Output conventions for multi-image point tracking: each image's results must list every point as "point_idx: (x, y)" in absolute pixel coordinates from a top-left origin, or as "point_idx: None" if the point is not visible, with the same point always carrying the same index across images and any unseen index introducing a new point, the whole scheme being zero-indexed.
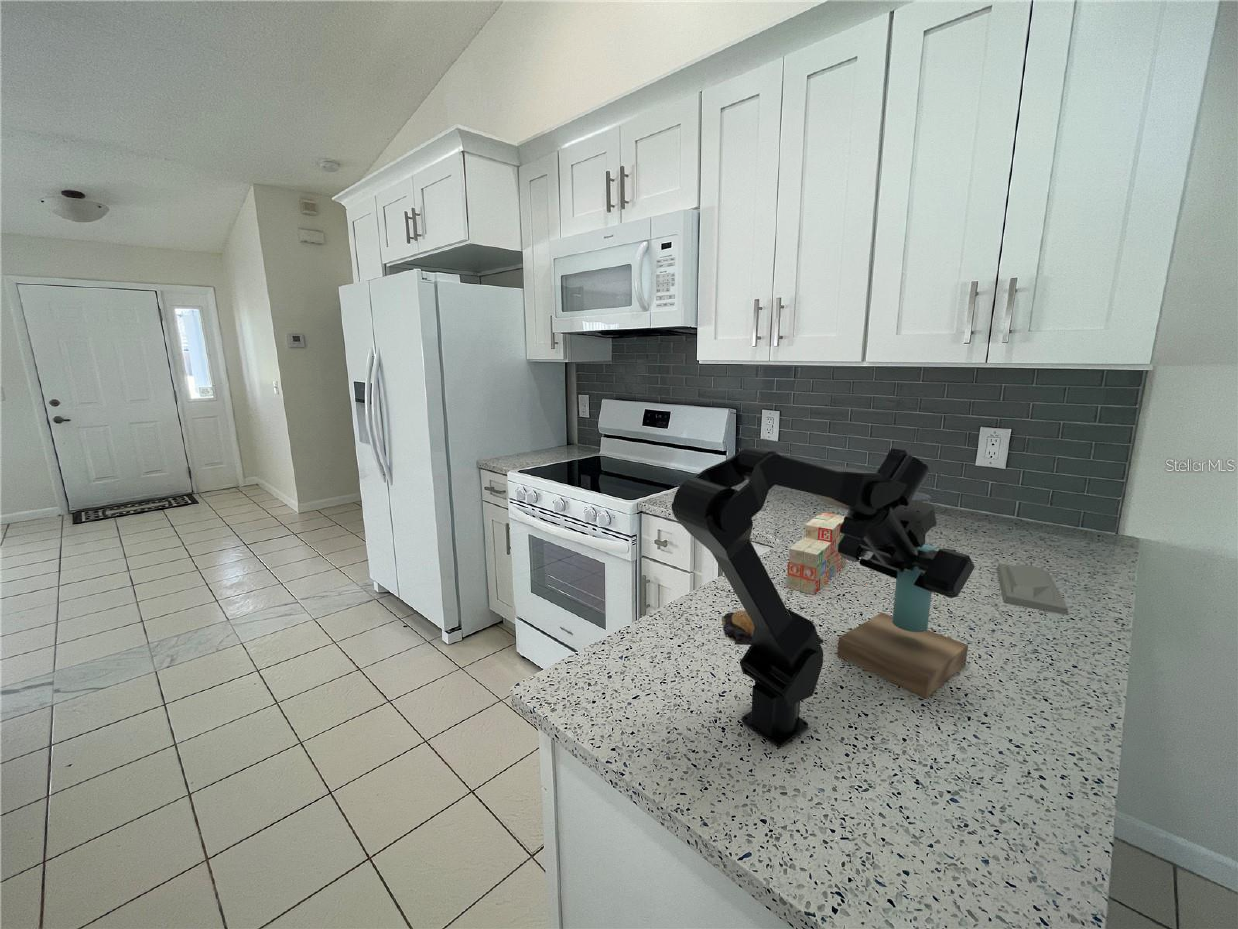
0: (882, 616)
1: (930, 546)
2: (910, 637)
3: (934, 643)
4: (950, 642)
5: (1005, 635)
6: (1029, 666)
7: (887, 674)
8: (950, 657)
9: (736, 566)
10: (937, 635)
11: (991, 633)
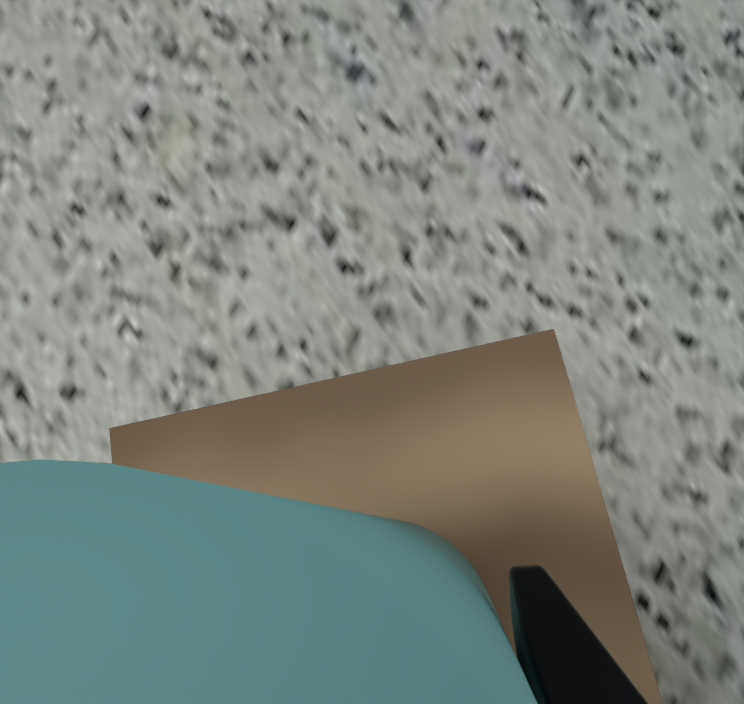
0: (138, 467)
1: (150, 515)
2: None
3: (465, 475)
4: (496, 387)
5: (453, 3)
6: (654, 132)
7: None
8: (606, 538)
9: None
10: (417, 383)
11: (417, 35)
